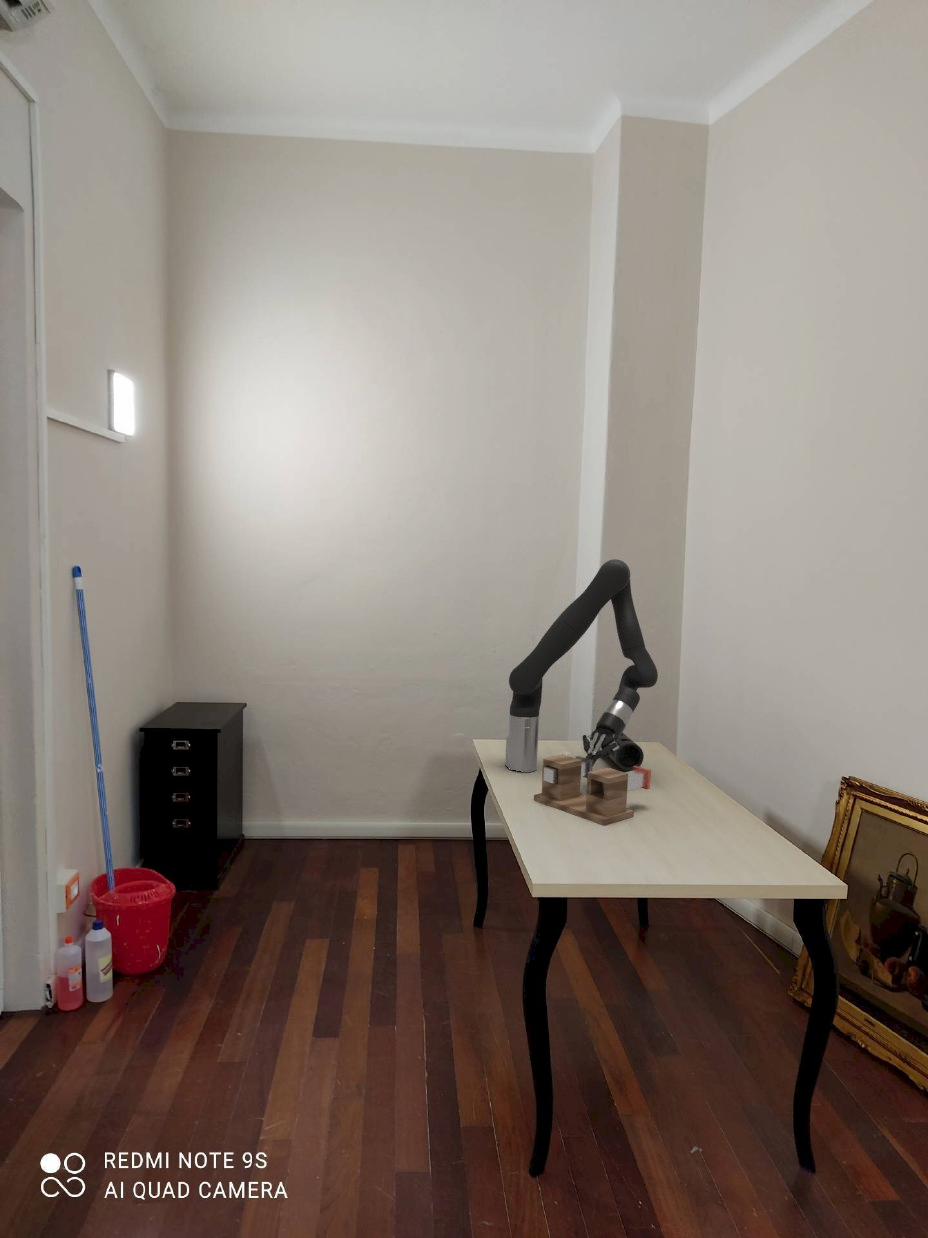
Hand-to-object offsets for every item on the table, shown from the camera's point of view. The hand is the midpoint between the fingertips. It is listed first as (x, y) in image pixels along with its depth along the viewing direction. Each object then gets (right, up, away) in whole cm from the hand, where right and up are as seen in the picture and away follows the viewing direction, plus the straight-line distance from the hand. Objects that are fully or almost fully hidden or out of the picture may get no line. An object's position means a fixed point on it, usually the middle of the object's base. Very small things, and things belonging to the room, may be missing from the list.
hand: (586, 767), depth 241 cm
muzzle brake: (+15, -5, +37) cm, 40 cm away
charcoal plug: (-6, -3, -5) cm, 8 cm away
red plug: (+8, -4, -14) cm, 16 cm away
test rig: (-3, -9, -12) cm, 15 cm away
